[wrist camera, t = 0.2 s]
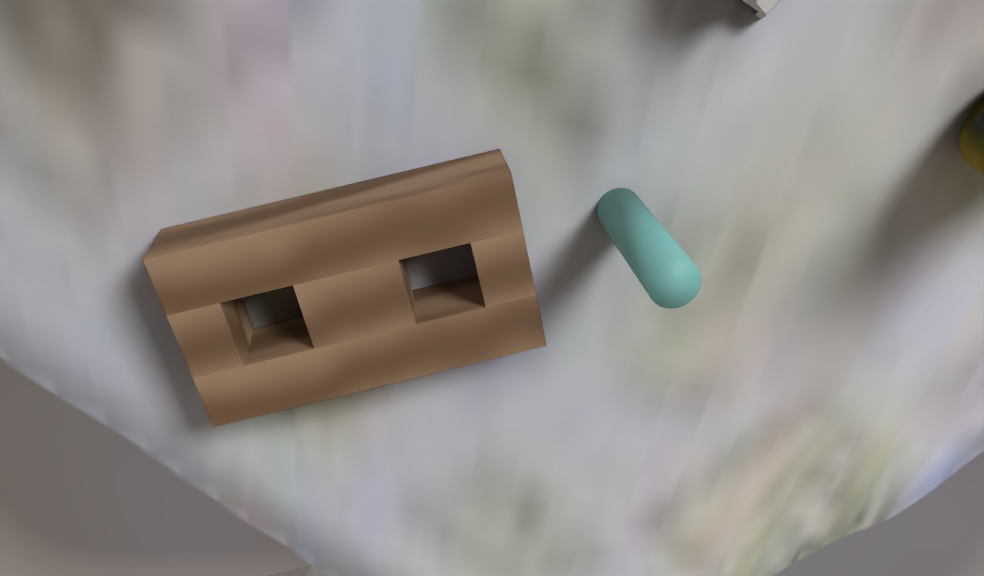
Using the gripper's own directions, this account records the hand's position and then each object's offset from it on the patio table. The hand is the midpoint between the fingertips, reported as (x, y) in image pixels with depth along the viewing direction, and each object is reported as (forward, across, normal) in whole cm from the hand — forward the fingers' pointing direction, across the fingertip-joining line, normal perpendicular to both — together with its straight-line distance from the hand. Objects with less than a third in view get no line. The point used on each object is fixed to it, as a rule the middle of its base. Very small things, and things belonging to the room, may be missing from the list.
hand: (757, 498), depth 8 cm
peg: (+48, -8, +17) cm, 51 cm away
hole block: (+48, +10, +16) cm, 51 cm away
